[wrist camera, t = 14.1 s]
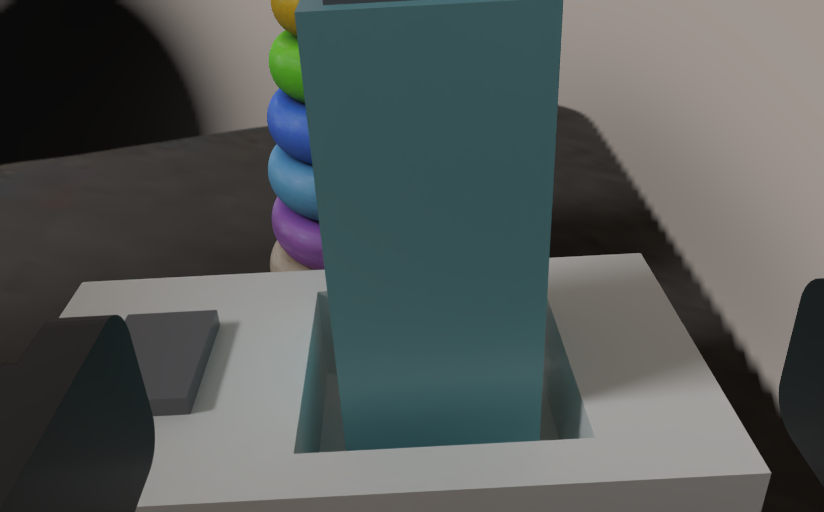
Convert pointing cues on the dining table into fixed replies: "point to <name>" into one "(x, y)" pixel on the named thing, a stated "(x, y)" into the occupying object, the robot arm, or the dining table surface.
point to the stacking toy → (291, 155)
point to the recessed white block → (437, 465)
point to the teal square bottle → (434, 210)
